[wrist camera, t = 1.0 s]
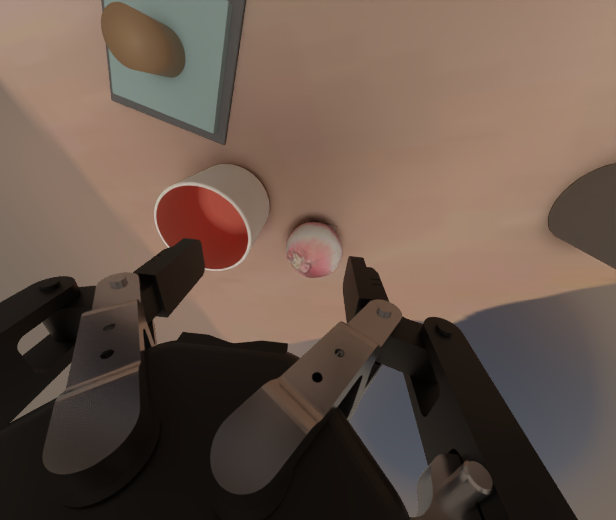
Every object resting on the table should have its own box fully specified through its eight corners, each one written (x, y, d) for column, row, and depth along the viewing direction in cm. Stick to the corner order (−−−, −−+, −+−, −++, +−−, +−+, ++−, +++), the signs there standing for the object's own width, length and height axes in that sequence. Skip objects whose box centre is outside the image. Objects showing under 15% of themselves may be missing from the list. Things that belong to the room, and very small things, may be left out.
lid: (107, -55, 20) (31, -112, 15) (232, 5, 21) (202, -28, 16) (119, 93, 26) (68, 89, 21) (217, 132, 27) (191, 137, 22)
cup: (281, 224, 33) (265, 261, 25) (221, 239, 35) (188, 278, 27) (254, 151, 28) (222, 168, 20) (186, 174, 30) (131, 198, 22)
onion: (283, 237, 35) (266, 246, 29) (324, 207, 33) (316, 209, 26) (313, 278, 36) (303, 296, 29) (355, 252, 34) (355, 265, 27)
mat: (97, -76, 19) (93, -79, 19) (246, -3, 21) (245, -5, 21) (114, 100, 26) (111, 100, 26) (225, 144, 28) (223, 145, 28)
